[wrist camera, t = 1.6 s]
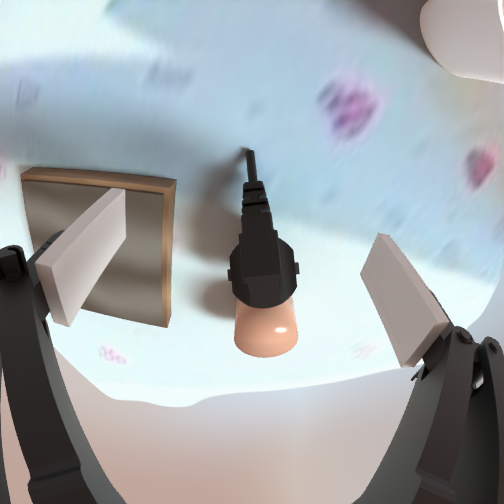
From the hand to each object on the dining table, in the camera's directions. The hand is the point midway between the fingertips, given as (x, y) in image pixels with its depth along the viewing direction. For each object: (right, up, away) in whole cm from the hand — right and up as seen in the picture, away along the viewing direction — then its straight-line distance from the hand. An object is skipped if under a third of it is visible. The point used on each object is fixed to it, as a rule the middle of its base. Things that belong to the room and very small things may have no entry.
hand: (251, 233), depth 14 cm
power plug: (0, +7, +10) cm, 12 cm away
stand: (-16, 0, +12) cm, 20 cm away
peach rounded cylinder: (+1, -6, +16) cm, 17 cm away
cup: (+18, +20, -1) cm, 27 cm away
